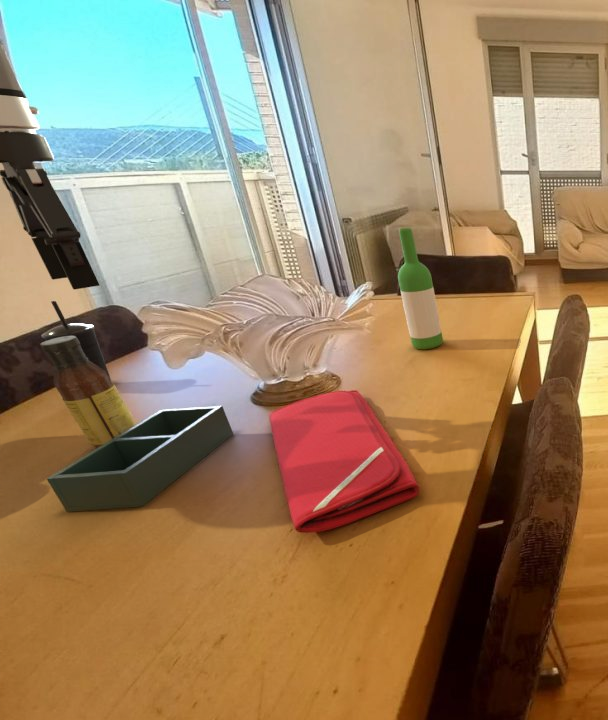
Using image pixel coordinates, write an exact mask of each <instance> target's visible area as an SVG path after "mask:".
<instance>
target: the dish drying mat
mask: <svg viewBox="0 0 608 720" xmlns="http://www.w3.org/2000/svg"><path fill="white" fill-rule="evenodd" d="M269 423H270V428H271V434H272V439H273V445H274V449H275V454H276V457H277V463H278V466H279V471H280V475H281V481H282V484H283V489H284V495H285V498H286V501H287V505H288V510H289V513H290V518H291V521H292V526H293V527H294V530H295V531H296V532H297V533H303V534H311V533H320V532H324V531H329V530H332V529H335V528H339V527H342V526H346V525H348V524H350V523H352V522H356V521H358V520H361V519H363V518H366V517H369V516H371V515H374V514H376V513H378V512H379V513H380V512H381V511H383V510H386V509H389V508H391V507H395V506H397V505H399V504H402V503H404V502H407V501H409V500H412V499H414V498H415V497H417V496H418V494H419V492H420V487H419V485H418V483H417V481H416V479H415V477H414V475H413V473H412V471H411V468H410V466H409V465H408V463H407V462H406V459H404V457H403V455H402V454H401V453H400V451H399V450H398V448H397V446H396V445H395V444H394V442H393V440H392V439H391V437H390V435H389V433H387V431H386V429H385V428H384V427H383V425H382V424H381V423H380V421H379V419H378V417H377V416H376V414H375V413H374V410H372V408H371V406H370V405H369V403H368V402H367V400H366V399H365V398H364V397H363V395H362V394H361V393H360V391H358V390H356V389H353V390H336V391H335V390H334V391H330V392H326V393H321V394H318V395H314V396H310V397H307V398H303V399H300V400H297V401H294V402H292V403H289V404H287V405H284V406H282V407H279V408H277V409H275V410H274V411H271V412H270V413H269Z"/></svg>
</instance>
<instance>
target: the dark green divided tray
mask: <svg viewBox="0 0 608 720" xmlns="http://www.w3.org/2000/svg"><path fill="white" fill-rule="evenodd" d="M136 424H137V425H135V426H133V427H132V428H130V429H128V430H127V431H125V432H123V433H122V434H120V435H118V436H117V437H115V438H113V439H112V440H110V441H108V442H107V443H105V444H103V445H102V446H100V447H98V448H97V449H95V448H94V449H93V450H92V451H90V452H88V453H87V454H85V455H83V456H82V457H80V458H78V459H76V460H75V461H73V462H71V463H70V464H69V465H67V466H65V467H64V468H62V469H60V470H58V471H56V472H55V473H53V474H52V475H50V476H48V477H47V478H46V480H47V482H48V484H49V485H50V487H51V489H52V491H53V492H54V493H55V496H56V497H57V498H58V500H59V502H60V503H61V505H62V506H63V508H64V510H65V511H66V513H70V512H71V513H72V512H85V511H96V510H97V511H98V510H99V511H100V510H112V509H113V510H114V509H126V508H127V509H128V508H139V507H141V508H142V507H144V506H145V505H147V504H148V503H149V502H151V500H153V499H154V498H155V497H157V496H158V495H159V494H160V493H162V492H163V491H164V490H165V489H167V488H168V487H169V486H171V485H172V484H173V483H174V482H175V481H177V480H178V479H179V478H181V476H183V475H184V474H185V473H187V472H188V471H189V470H191V469H192V468H193V467H194V466H195V465H197V464H198V463H199V462H200V461H202V460H203V459H204V458H206V457H207V456H208V455H209V454H210V453H212V452H213V451H214V450H215V449H217V448H218V447H219V446H220V445H222V444H223V443H224V442H225V441H227V440H228V439H230V437H232V436H233V435H234V431H233V429H232V427H231V425H230V421H229V419H228V416H227V414H226V412H225V409H224V406H223V405H216V406H198V407H197V406H196V407H182V408H166V409H160V410H158V411H157V412H155V413H153V414H152V415H150V416H148V417H147V418H145V419H143V420H142V421H140V422H139V423H136Z"/></svg>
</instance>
